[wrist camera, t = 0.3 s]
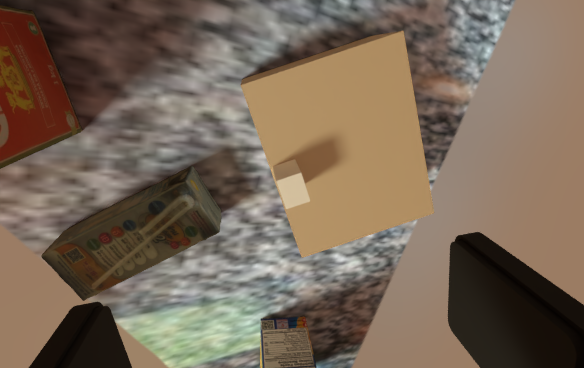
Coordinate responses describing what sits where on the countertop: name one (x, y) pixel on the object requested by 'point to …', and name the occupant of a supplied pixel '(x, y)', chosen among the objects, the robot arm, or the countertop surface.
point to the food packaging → (30, 90)
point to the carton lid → (344, 143)
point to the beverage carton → (135, 234)
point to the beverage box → (285, 343)
